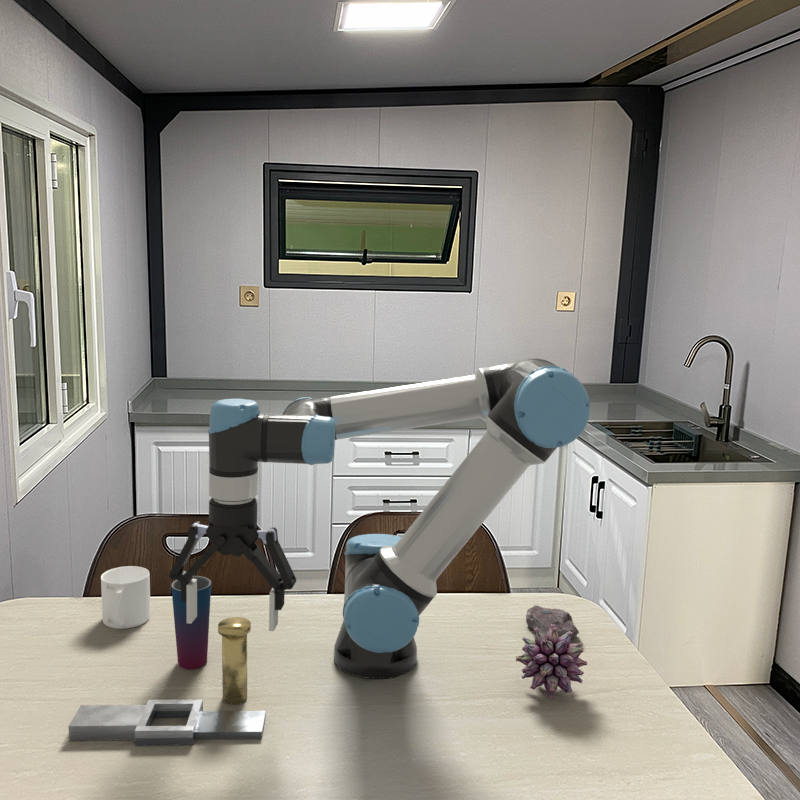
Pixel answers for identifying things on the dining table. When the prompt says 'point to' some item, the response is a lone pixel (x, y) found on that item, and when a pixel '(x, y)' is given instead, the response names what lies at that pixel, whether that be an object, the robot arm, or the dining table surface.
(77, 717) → the grey metal base plate
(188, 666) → the cup
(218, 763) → the dining table surface
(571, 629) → the rock
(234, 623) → the pin
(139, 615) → the mug
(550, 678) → the flower
